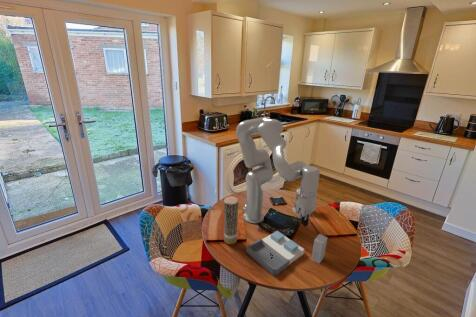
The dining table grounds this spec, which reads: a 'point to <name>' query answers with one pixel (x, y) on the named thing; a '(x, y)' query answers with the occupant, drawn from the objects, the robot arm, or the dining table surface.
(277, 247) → the board
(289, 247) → the tile
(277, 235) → the tile
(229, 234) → the paper tube
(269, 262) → the tray
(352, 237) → the dining table surface
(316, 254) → the skincare box
